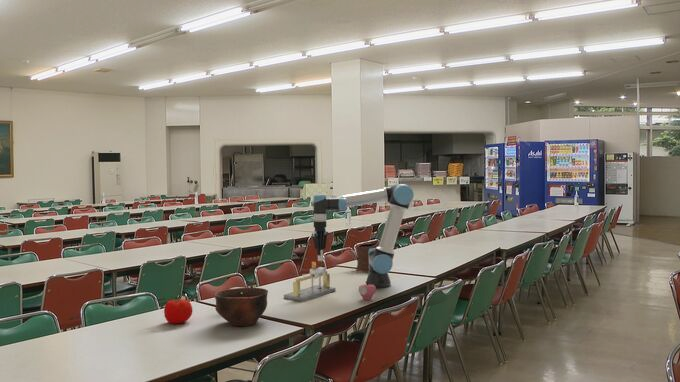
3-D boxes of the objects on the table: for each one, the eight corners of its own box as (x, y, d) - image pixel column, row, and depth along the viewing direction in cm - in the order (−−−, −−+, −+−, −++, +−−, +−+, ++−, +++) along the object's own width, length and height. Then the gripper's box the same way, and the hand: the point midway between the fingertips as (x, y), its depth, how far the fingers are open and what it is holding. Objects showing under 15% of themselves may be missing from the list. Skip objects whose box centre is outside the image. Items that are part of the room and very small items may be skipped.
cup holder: (382, 271, 383) (381, 236, 382) (348, 272, 383) (347, 236, 382) (380, 266, 402) (380, 232, 401) (347, 267, 402) (347, 233, 401)
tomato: (169, 319, 269) (168, 295, 269) (196, 318, 269) (195, 295, 269) (160, 326, 257) (159, 302, 257) (188, 326, 257) (187, 301, 256)
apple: (355, 300, 302) (355, 282, 301) (365, 297, 308) (365, 279, 307) (369, 302, 295) (368, 284, 295) (379, 299, 301) (378, 281, 301)
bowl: (248, 313, 278) (248, 283, 277) (279, 322, 260) (278, 291, 259) (205, 323, 260) (204, 292, 259) (234, 334, 242) (233, 300, 242)
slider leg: (318, 290, 317) (318, 262, 316) (315, 291, 315) (314, 262, 314) (313, 289, 320) (312, 261, 319) (310, 290, 317) (309, 262, 316)
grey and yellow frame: (335, 291, 324) (335, 267, 324) (302, 301, 300) (302, 275, 300) (317, 288, 333) (316, 265, 332) (283, 298, 309) (283, 273, 308)
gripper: (321, 219, 328) (322, 258, 329) (307, 221, 318) (308, 261, 319) (331, 220, 324) (332, 259, 325) (318, 222, 313) (318, 262, 314)
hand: (320, 260), depth 322 cm, fingers closed
